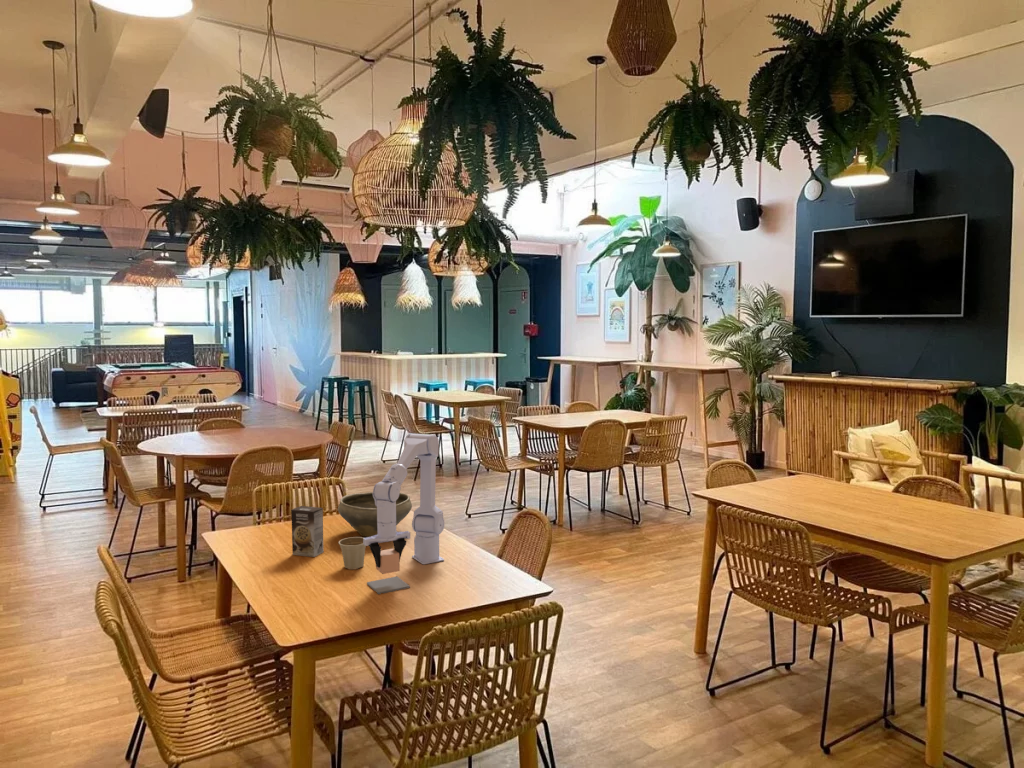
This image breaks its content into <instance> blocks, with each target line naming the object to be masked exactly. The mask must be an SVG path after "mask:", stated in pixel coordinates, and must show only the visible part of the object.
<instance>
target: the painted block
mask: <svg viewBox="0 0 1024 768" xmlns="http://www.w3.org/2000/svg"><path fill="white" fill-rule="evenodd" d="M380 562H381V565H380V567H379V568H378V567H377V566H376V565H375V570H377V571H378V573H380V574H381V575H386V574H391V573H396V572H400V571H401V568H400V567H401V566H400V564H401V563H400V562H399V553H398V552H397V551H395V550H394V548H389V549H384V550H383V549H381V554H380Z"/></svg>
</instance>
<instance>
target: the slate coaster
mask: <svg viewBox="0 0 1024 768" xmlns="http://www.w3.org/2000/svg"><path fill="white" fill-rule="evenodd" d="M366 585H367V586H368V587H369V588H371V589H372V590H373V591H374V592H375V591H376V592H377V593H376V594H377V595H381V593H383V594H386V593H387V594H388V593H391V592H396V590H397V591H401V589H402V590H406V588H407V589H410V585H409V584H408V583H407V582H405V581H404V580H403V579H401V577H399V576H393V577H386V578H381V579H376V580H372V581H367V582H366Z"/></svg>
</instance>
